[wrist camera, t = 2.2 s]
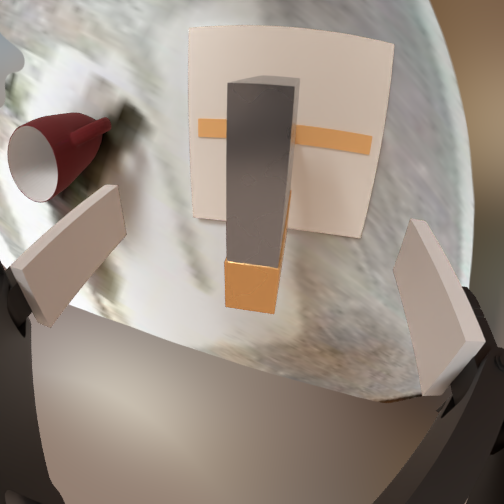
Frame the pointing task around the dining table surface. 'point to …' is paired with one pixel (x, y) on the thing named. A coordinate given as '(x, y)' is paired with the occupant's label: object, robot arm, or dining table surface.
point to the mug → (53, 152)
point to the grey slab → (258, 187)
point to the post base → (308, 117)
